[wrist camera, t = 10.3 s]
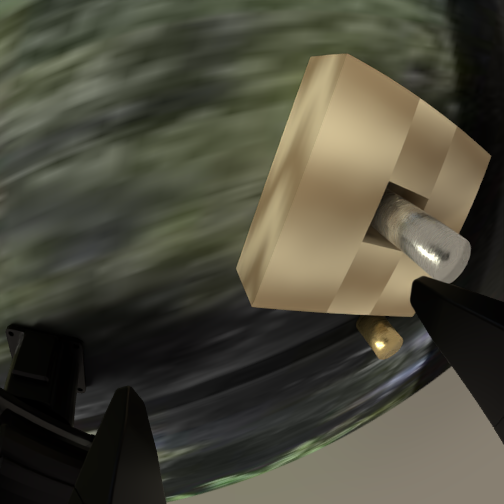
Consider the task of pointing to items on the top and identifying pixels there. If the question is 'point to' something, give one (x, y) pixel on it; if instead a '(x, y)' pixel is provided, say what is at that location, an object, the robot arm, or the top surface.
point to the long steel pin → (421, 237)
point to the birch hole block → (353, 192)
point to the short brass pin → (379, 335)
